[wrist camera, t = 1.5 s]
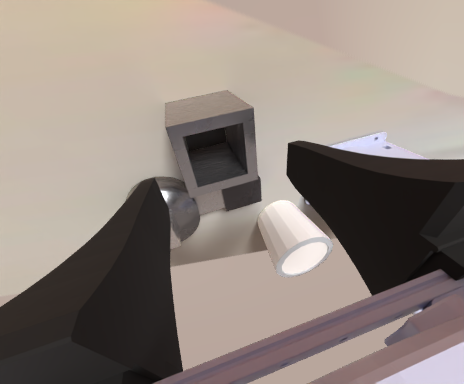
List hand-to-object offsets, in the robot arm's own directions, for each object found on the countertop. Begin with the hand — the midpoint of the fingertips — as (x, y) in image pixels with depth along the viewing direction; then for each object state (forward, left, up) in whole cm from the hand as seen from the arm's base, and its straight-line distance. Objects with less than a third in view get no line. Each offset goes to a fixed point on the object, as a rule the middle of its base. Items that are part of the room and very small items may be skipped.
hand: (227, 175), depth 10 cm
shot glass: (-7, +14, -8) cm, 18 cm away
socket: (0, 0, -8) cm, 8 cm away
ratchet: (+3, +7, -8) cm, 11 cm away
